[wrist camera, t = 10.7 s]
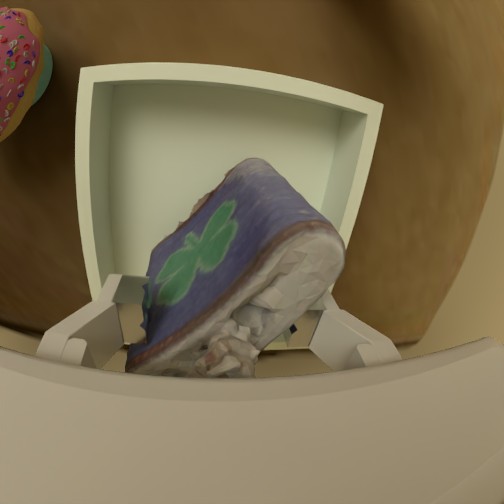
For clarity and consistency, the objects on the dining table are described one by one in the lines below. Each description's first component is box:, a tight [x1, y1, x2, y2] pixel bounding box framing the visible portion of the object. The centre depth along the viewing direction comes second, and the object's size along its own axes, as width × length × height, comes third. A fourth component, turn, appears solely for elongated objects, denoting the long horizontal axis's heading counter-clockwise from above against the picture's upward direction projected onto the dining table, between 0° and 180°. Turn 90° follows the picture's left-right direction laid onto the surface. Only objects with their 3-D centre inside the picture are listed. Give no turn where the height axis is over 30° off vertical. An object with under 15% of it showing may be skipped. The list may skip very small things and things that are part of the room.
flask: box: [125, 158, 346, 378], centre depth 11 cm, size 9×3×11 cm, turn 132°
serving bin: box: [75, 63, 384, 350], centre depth 16 cm, size 15×17×4 cm
